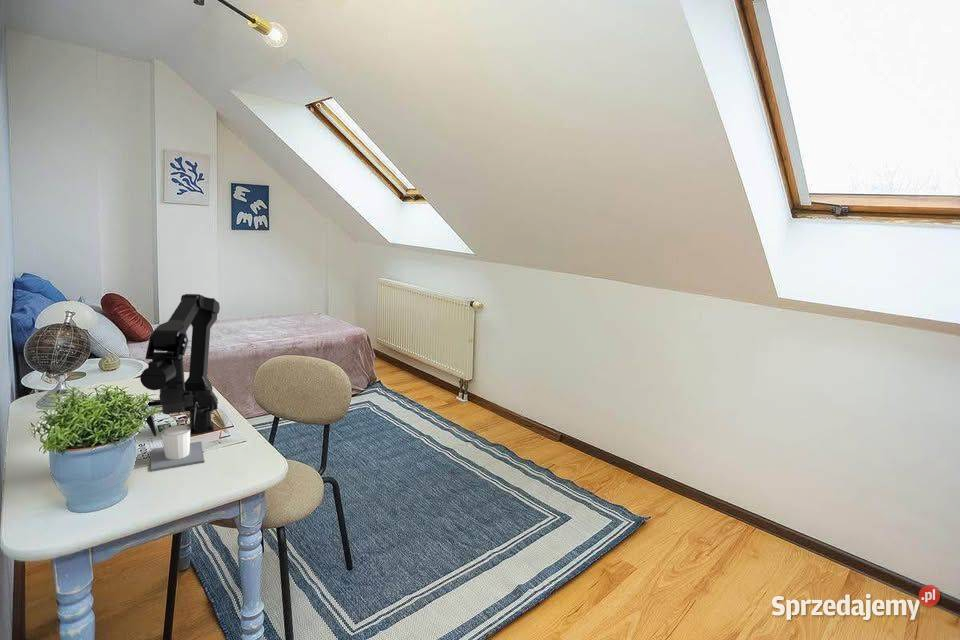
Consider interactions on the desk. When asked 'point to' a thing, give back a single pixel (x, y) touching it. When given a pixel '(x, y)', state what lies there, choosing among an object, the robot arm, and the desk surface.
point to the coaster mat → (163, 463)
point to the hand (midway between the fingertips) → (175, 432)
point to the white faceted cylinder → (176, 441)
